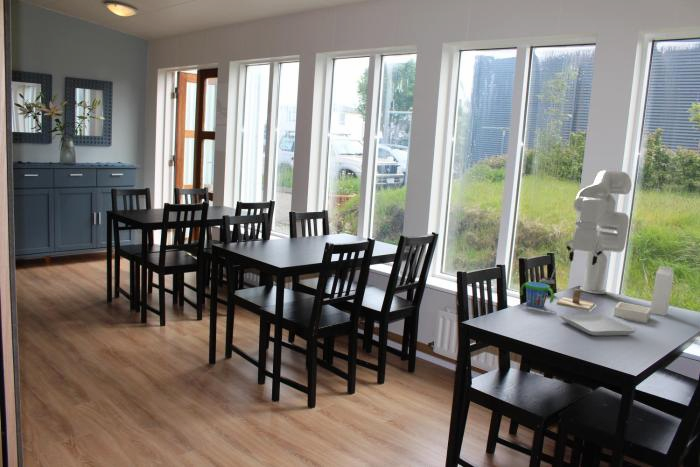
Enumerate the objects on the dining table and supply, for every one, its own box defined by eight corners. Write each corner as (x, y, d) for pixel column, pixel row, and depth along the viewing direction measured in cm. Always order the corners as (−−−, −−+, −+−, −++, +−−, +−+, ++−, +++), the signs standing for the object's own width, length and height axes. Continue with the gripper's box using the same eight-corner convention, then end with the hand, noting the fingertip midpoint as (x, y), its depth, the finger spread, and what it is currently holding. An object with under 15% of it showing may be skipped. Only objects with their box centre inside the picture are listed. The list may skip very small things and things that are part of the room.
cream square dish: (618, 311, 270) (619, 301, 269) (649, 317, 263) (651, 307, 262) (613, 317, 259) (614, 307, 258) (646, 323, 252) (647, 313, 251)
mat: (561, 299, 284) (561, 297, 284) (596, 306, 276) (596, 305, 276) (553, 305, 271) (553, 304, 271) (590, 312, 262) (590, 311, 262)
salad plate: (590, 339, 225) (591, 330, 224) (557, 321, 245) (558, 313, 245) (636, 338, 231) (637, 330, 230) (600, 321, 251) (601, 313, 250)
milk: (663, 316, 268) (671, 268, 264) (649, 312, 272) (657, 266, 268) (667, 313, 272) (675, 267, 269) (653, 310, 276) (661, 264, 273)
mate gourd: (537, 295, 289) (541, 265, 286) (539, 291, 296) (543, 262, 294) (553, 297, 286) (557, 267, 284) (555, 294, 293) (559, 265, 291)
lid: (563, 298, 283) (565, 284, 282) (594, 304, 275) (596, 290, 274) (556, 304, 271) (558, 289, 270) (588, 310, 264) (590, 295, 263)
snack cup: (513, 303, 269) (516, 281, 267) (526, 300, 276) (529, 279, 274) (543, 312, 257) (546, 289, 256) (556, 309, 264) (559, 287, 262)
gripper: (566, 223, 269) (561, 260, 271) (606, 229, 260) (600, 267, 262) (569, 222, 275) (564, 258, 278) (609, 228, 266) (603, 265, 269)
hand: (582, 262), depth 270 cm, fingers open, 9 cm apart
